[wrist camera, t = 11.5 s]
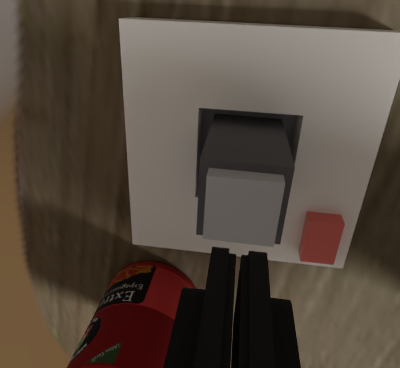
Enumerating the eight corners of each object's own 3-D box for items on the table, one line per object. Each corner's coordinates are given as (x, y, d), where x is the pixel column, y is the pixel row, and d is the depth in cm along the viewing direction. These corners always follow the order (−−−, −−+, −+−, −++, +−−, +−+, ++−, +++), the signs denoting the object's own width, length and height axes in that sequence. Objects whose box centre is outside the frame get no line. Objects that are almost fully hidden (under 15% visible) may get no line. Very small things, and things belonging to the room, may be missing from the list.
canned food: (144, 241, 27) (83, 376, 17) (222, 297, 28) (208, 450, 19) (94, 292, 30) (19, 430, 20) (167, 340, 31) (130, 489, 22)
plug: (281, 119, 21) (297, 175, 14) (272, 178, 22) (281, 255, 16) (215, 113, 21) (197, 165, 14) (211, 172, 23) (193, 244, 16)
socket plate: (394, 30, 18) (422, 35, 15) (334, 245, 25) (346, 279, 22) (133, 17, 19) (111, 19, 16) (142, 224, 26) (127, 253, 23)
